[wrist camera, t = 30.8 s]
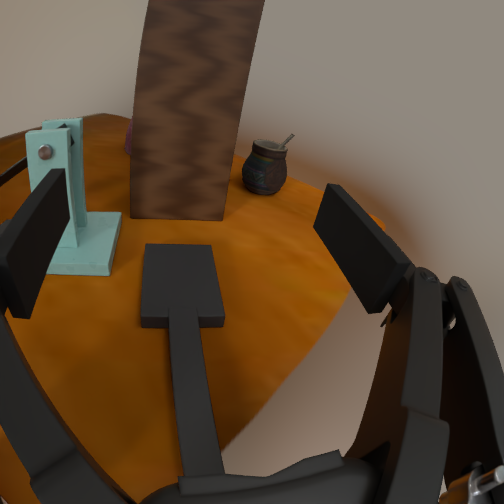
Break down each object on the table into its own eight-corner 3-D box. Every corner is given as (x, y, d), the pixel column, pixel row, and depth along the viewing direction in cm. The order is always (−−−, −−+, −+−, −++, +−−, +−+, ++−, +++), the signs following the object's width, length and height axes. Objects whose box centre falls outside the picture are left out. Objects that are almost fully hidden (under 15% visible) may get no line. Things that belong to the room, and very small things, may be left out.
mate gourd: (230, 182, 50) (240, 125, 45) (263, 178, 55) (275, 126, 49) (257, 202, 46) (271, 139, 41) (291, 195, 51) (306, 140, 45)
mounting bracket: (9, 272, 24) (-20, 146, 17) (37, 221, 32) (25, 117, 24) (109, 276, 28) (101, 137, 20) (121, 222, 36) (122, 112, 28)
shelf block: (130, 218, 37) (155, -27, 19) (140, 175, 47) (162, -5, 30) (222, 221, 40) (268, -14, 23) (211, 178, 51) (243, 3, 34)
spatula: (148, 482, 14) (145, 478, 13) (145, 254, 32) (145, 242, 31) (257, 473, 16) (262, 468, 15) (209, 255, 34) (211, 243, 33)
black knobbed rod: (-25, 222, 23) (-41, 197, 21) (-12, 206, 26) (-26, 182, 23) (68, 157, 23) (52, 124, 21) (79, 145, 26) (65, 115, 23)
